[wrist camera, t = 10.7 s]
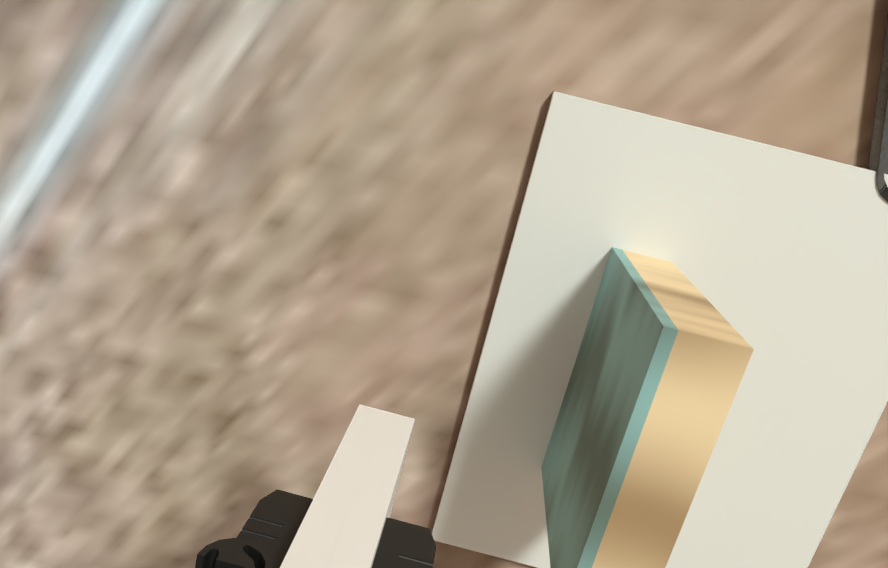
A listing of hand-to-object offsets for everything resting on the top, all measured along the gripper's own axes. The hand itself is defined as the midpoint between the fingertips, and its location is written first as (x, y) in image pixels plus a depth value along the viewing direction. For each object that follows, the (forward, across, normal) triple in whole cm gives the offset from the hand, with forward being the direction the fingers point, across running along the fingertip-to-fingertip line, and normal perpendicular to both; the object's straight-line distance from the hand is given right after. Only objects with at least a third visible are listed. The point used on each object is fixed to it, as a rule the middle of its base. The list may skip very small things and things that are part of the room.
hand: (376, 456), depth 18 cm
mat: (+11, +10, 0) cm, 15 cm away
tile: (+10, +8, 0) cm, 13 cm away
